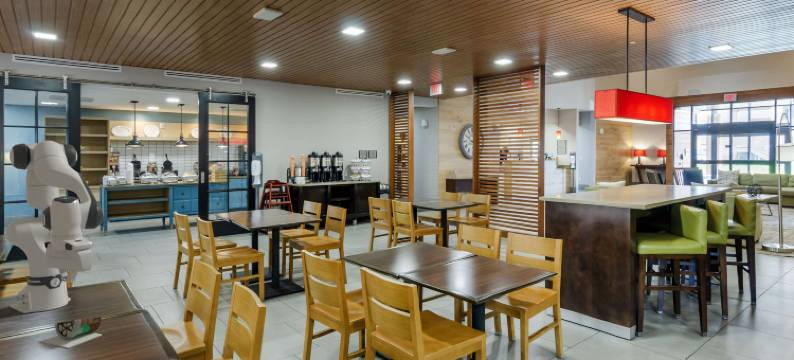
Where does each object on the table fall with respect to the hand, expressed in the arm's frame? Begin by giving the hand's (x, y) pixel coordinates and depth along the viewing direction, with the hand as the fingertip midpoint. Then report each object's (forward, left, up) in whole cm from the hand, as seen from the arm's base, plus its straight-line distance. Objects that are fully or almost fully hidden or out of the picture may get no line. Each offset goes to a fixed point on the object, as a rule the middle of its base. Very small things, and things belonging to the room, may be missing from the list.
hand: (68, 281), depth 162 cm
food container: (0, +8, -19) cm, 21 cm away
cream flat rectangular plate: (0, +1, -21) cm, 21 cm away
